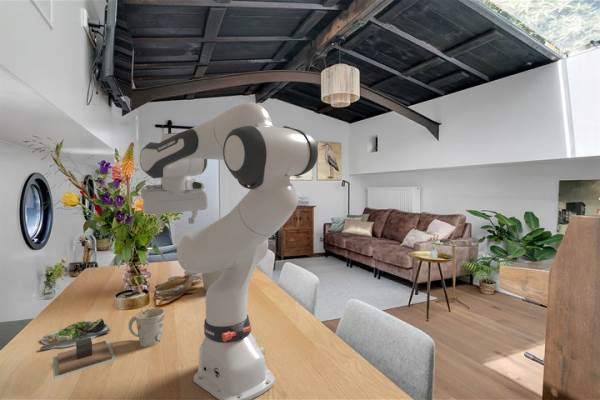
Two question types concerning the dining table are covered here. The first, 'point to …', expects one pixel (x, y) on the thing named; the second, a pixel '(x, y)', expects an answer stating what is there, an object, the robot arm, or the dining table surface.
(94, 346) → the walnut lid
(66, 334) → the salad plate
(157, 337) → the mug
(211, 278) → the canister
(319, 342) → the dining table surface
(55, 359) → the green mat
